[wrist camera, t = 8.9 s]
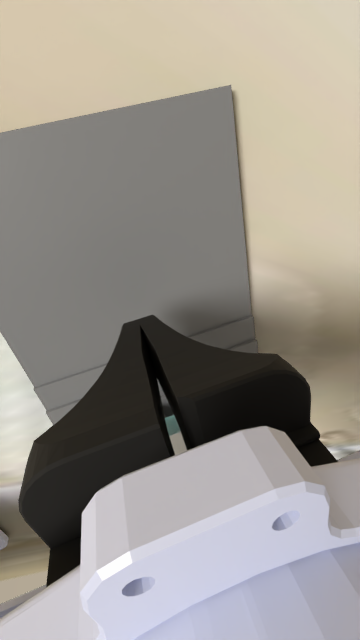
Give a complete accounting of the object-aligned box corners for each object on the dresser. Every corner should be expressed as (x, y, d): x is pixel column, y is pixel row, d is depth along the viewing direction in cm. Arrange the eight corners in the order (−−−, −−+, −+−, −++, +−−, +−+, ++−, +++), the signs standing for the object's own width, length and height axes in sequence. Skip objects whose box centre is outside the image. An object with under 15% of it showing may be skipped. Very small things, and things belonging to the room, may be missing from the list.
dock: (110, 506, 21) (112, 539, 19) (-101, 156, 10) (-148, 151, 8) (261, 446, 22) (276, 471, 20) (226, 87, 11) (253, 70, 9)
